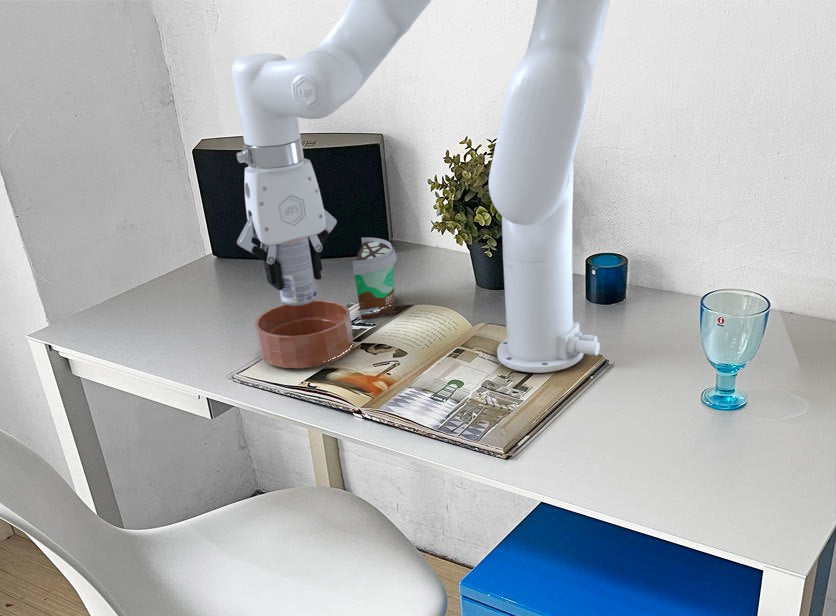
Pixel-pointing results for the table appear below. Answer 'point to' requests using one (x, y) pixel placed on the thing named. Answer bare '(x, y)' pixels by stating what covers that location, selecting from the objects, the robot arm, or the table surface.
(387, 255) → the food container
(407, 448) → the table surface
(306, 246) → the energy drink
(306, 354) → the bowl
